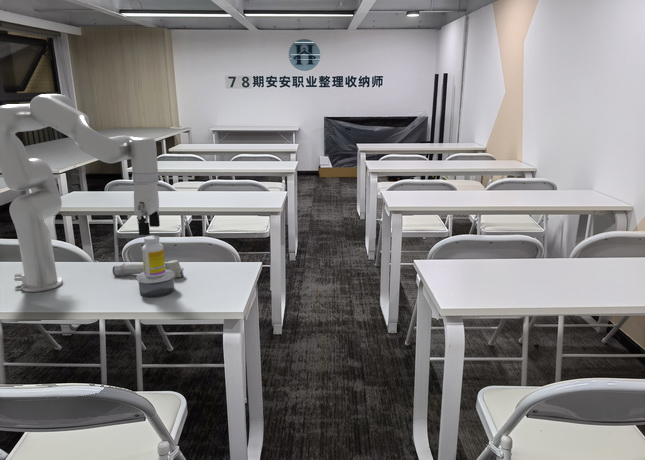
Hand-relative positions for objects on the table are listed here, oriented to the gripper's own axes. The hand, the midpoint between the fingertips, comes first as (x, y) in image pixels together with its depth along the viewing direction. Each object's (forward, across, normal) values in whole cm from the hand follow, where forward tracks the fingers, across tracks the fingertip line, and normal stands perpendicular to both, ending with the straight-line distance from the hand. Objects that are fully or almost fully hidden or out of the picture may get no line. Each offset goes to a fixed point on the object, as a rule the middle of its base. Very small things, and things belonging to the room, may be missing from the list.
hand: (149, 230), depth 163 cm
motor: (+21, 0, +1) cm, 21 cm away
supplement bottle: (+15, 0, +1) cm, 15 cm away
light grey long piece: (+22, -14, -6) cm, 27 cm away
